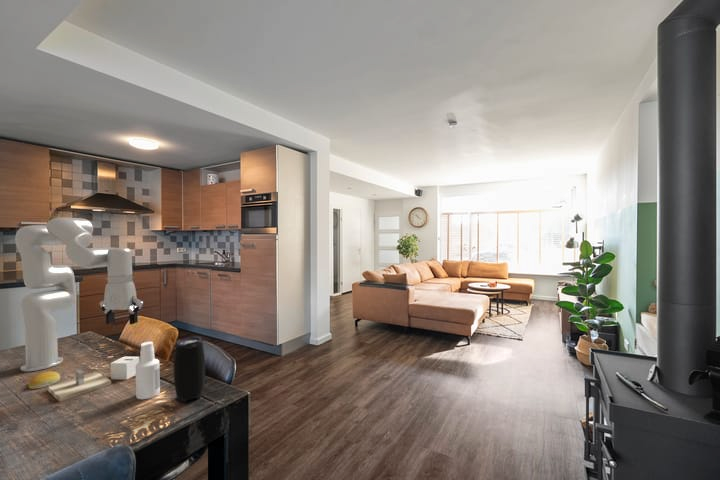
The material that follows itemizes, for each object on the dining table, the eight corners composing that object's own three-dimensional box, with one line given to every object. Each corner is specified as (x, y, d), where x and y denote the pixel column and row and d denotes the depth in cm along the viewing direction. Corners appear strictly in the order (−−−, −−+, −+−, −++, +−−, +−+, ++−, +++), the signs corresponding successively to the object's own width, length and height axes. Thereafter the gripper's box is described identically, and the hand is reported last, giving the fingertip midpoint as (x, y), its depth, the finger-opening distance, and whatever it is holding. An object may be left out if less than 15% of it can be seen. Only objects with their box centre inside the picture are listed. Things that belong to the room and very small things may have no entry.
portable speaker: (168, 402, 102) (167, 343, 101) (191, 388, 111) (190, 334, 111) (189, 405, 100) (188, 345, 99) (211, 391, 109) (209, 336, 108)
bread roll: (27, 392, 110) (26, 381, 110) (31, 383, 117) (30, 372, 117) (59, 384, 115) (59, 374, 115) (61, 376, 122) (61, 366, 122)
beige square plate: (47, 390, 110) (47, 374, 110) (97, 375, 122) (96, 360, 122) (59, 402, 103) (59, 384, 103) (111, 384, 114) (110, 368, 114)
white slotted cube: (111, 379, 119) (110, 362, 119) (124, 371, 125) (124, 355, 125) (126, 379, 118) (126, 362, 118) (139, 372, 125) (139, 356, 125)
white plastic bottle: (164, 391, 109) (163, 340, 109) (145, 401, 103) (144, 347, 102) (150, 388, 111) (149, 338, 111) (131, 398, 105) (130, 345, 104)
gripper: (90, 281, 117) (92, 326, 117) (133, 281, 115) (135, 326, 116) (108, 278, 124) (110, 320, 125) (148, 278, 123) (150, 320, 123)
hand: (122, 323), depth 120 cm, fingers open, 9 cm apart
